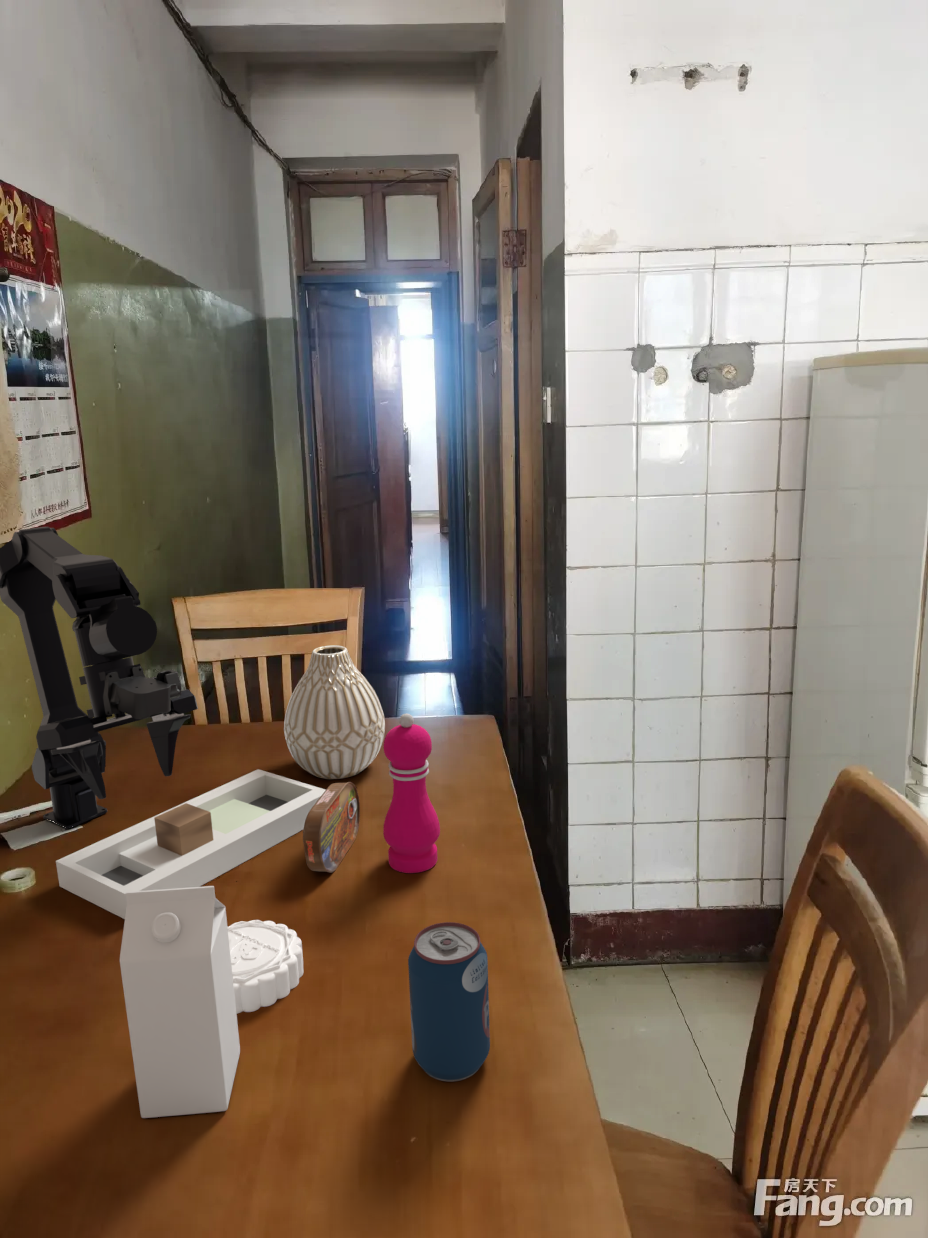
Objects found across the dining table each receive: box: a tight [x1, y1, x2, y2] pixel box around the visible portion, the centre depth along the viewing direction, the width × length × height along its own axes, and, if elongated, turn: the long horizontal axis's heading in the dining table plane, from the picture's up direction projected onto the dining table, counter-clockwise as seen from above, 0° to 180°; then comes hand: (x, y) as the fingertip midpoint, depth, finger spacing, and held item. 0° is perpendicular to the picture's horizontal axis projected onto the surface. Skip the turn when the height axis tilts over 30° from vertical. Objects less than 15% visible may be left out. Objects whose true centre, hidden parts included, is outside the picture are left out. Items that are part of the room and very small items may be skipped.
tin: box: [302, 781, 361, 873], centre depth 117 cm, size 15×3×8 cm, turn 168°
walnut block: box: [154, 802, 213, 856], centre depth 117 cm, size 5×5×4 cm
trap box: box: [55, 768, 326, 920], centre depth 120 cm, size 15×33×4 cm, turn 145°
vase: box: [283, 645, 386, 780], centre depth 143 cm, size 16×16×20 cm
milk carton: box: [119, 885, 241, 1119], centre depth 76 cm, size 7×7×19 cm
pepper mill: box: [382, 713, 441, 874], centre depth 113 cm, size 7×7×20 cm
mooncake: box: [227, 919, 304, 1015], centre depth 93 cm, size 12×12×4 cm
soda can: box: [407, 921, 491, 1083], centre depth 79 cm, size 7×7×12 cm
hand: (136, 787), depth 110 cm, fingers open, 9 cm apart
